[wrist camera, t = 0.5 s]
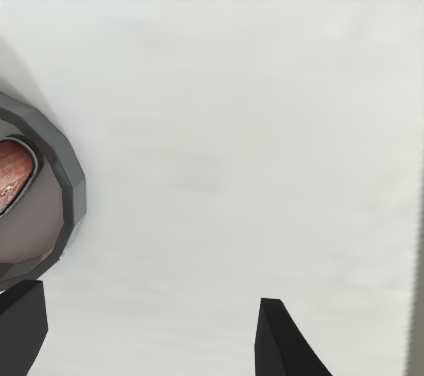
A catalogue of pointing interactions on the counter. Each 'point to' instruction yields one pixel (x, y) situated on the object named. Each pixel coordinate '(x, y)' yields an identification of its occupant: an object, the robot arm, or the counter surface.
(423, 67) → the counter surface
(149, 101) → the counter surface
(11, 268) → the dark grey ring
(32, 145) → the lighter
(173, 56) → the counter surface
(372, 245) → the counter surface
